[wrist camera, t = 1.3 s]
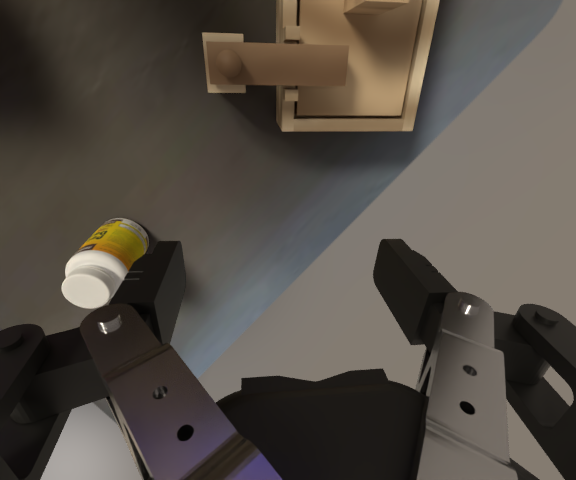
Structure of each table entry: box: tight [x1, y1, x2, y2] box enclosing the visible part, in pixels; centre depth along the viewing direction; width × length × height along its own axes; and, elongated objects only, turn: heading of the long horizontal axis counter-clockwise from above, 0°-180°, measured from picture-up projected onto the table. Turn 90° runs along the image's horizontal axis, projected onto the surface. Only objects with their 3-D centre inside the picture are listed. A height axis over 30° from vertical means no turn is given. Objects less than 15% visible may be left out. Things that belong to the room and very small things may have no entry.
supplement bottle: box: [62, 218, 149, 308], centre depth 32 cm, size 6×6×10 cm
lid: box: [295, 0, 422, 116], centre depth 22 cm, size 13×9×6 cm
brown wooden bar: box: [206, 41, 349, 86], centre depth 22 cm, size 3×10×4 cm, turn 89°
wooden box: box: [202, 0, 440, 132], centre depth 25 cm, size 16×18×8 cm
